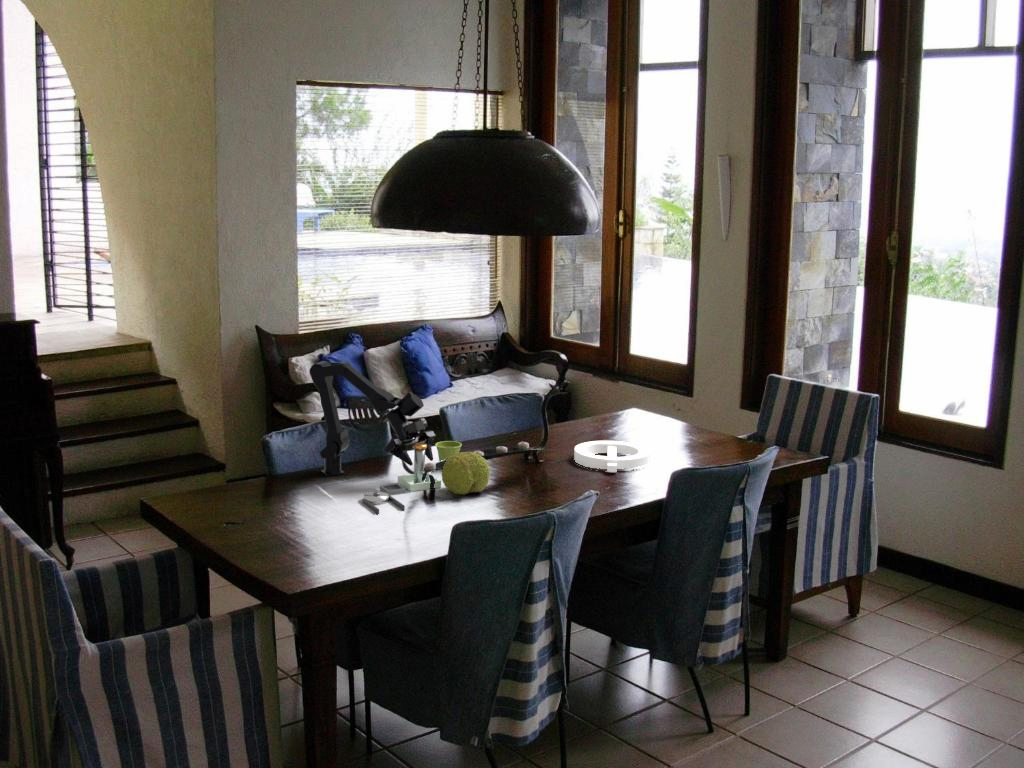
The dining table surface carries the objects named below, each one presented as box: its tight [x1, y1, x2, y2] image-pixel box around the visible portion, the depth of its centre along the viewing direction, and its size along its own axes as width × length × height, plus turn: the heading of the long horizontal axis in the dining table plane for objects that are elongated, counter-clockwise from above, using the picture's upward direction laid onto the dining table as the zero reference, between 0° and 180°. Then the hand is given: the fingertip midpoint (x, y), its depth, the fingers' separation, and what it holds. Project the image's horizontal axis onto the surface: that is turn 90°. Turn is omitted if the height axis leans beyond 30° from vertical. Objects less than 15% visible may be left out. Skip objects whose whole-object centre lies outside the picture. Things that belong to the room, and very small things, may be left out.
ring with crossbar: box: [573, 440, 651, 473], centre depth 418 cm, size 28×28×5 cm
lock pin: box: [412, 443, 427, 484], centre depth 379 cm, size 5×5×14 cm
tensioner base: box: [375, 483, 411, 497], centre depth 373 cm, size 9×9×2 cm
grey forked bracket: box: [362, 491, 406, 516], centre depth 359 cm, size 16×9×3 cm, turn 29°
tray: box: [397, 473, 442, 493], centre depth 380 cm, size 11×11×3 cm
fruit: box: [441, 451, 491, 495], centre depth 374 cm, size 16×14×15 cm
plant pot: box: [435, 440, 462, 462], centre depth 404 cm, size 9×9×9 cm
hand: (422, 462), depth 378 cm, fingers open, 9 cm apart
